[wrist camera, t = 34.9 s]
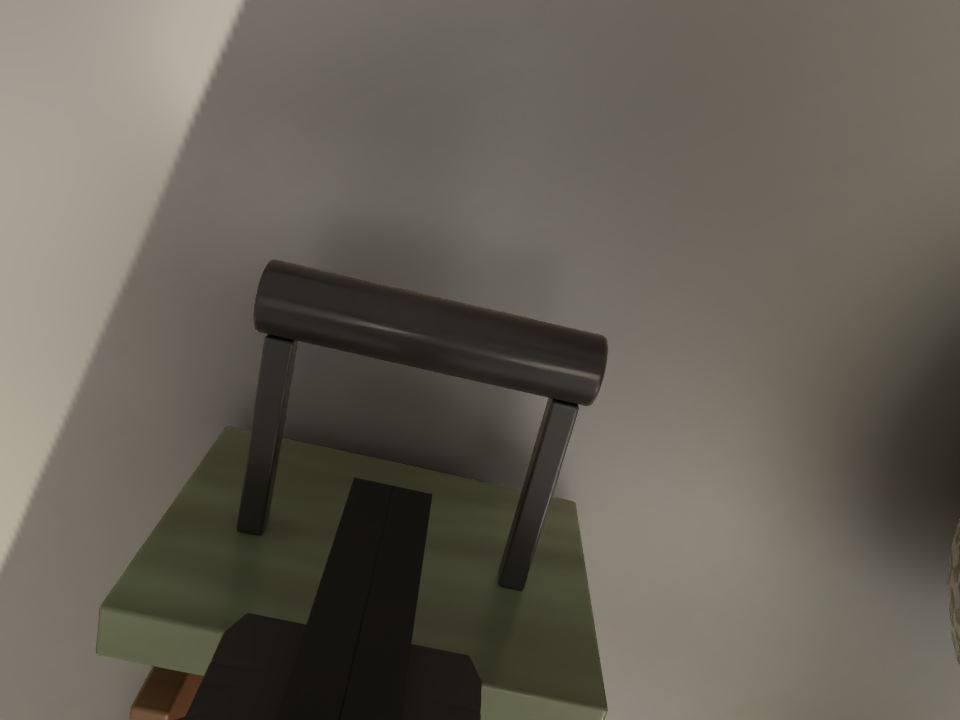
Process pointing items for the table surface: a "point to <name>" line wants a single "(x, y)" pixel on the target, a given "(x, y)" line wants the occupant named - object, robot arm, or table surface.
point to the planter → (955, 591)
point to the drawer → (329, 476)
